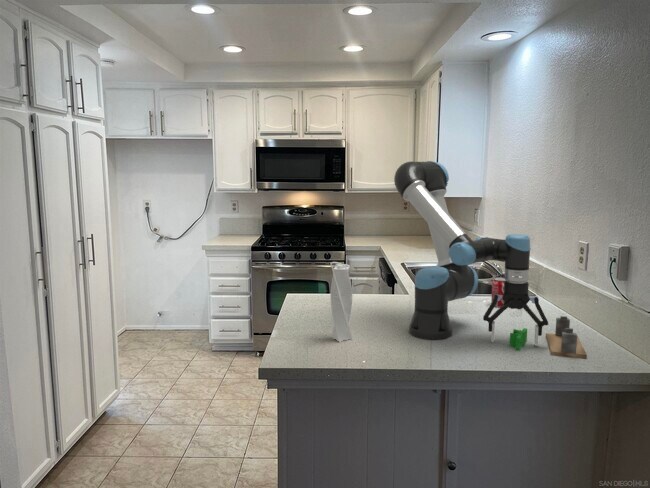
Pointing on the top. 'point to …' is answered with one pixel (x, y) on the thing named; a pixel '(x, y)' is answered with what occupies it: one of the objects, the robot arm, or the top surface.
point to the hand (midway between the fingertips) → (514, 342)
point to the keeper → (565, 340)
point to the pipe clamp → (518, 338)
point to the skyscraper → (341, 301)
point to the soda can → (498, 290)
